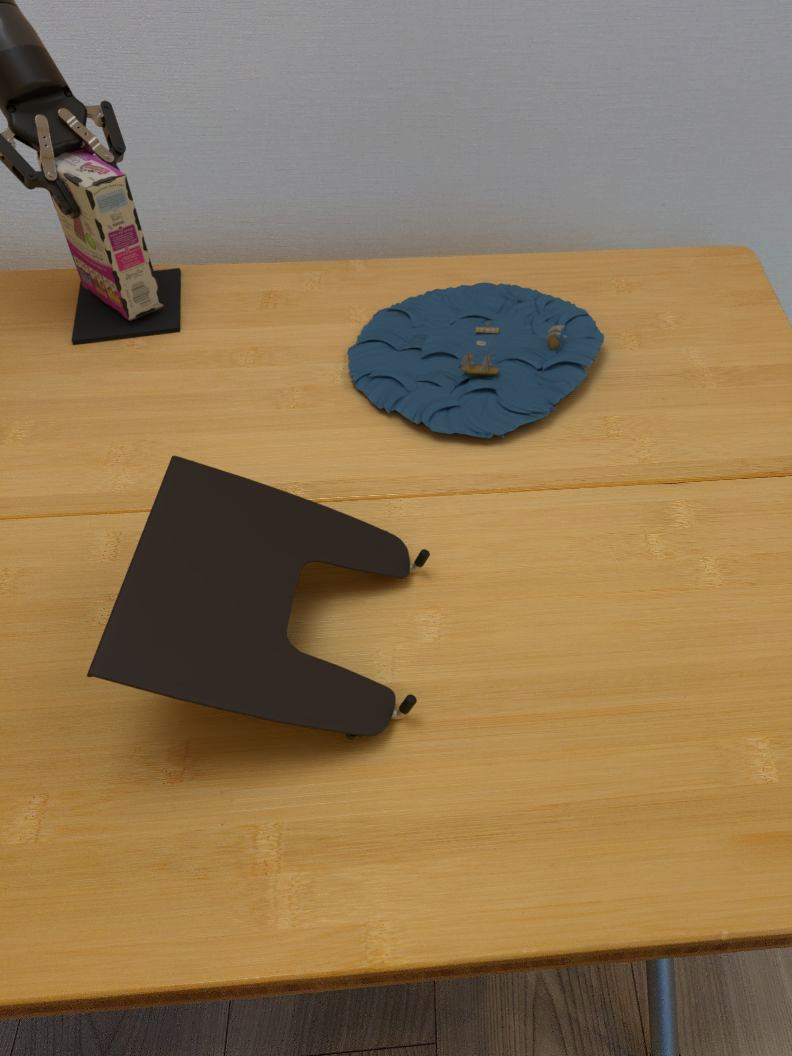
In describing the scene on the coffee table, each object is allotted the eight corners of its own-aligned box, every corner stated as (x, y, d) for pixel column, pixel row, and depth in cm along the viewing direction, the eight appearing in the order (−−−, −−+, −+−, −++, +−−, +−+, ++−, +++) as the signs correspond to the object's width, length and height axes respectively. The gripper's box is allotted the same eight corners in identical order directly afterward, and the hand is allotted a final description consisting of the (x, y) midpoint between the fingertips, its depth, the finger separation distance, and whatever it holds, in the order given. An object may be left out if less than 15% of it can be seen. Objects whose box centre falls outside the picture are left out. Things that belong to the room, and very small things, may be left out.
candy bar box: (167, 306, 114) (128, 173, 102) (130, 323, 111) (84, 188, 99) (118, 272, 119) (75, 141, 107) (81, 287, 116) (32, 155, 104)
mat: (72, 344, 110) (71, 340, 110) (82, 283, 119) (80, 278, 119) (180, 331, 112) (178, 327, 112) (181, 271, 122) (179, 267, 121)
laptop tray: (371, 796, 77) (413, 741, 71) (71, 727, 69) (91, 658, 63) (396, 583, 93) (433, 523, 87) (155, 507, 85) (178, 436, 79)
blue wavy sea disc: (348, 464, 98) (338, 425, 94) (350, 304, 118) (343, 267, 115) (629, 435, 100) (631, 396, 96) (584, 282, 120) (584, 245, 117)
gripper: (-56, 60, 96) (40, 214, 99) (80, 27, 103) (165, 172, 106) (-54, 98, 102) (36, 242, 105) (74, 65, 109) (155, 201, 112)
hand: (100, 206), depth 105 cm, fingers closed on candy bar box, 5 cm apart
